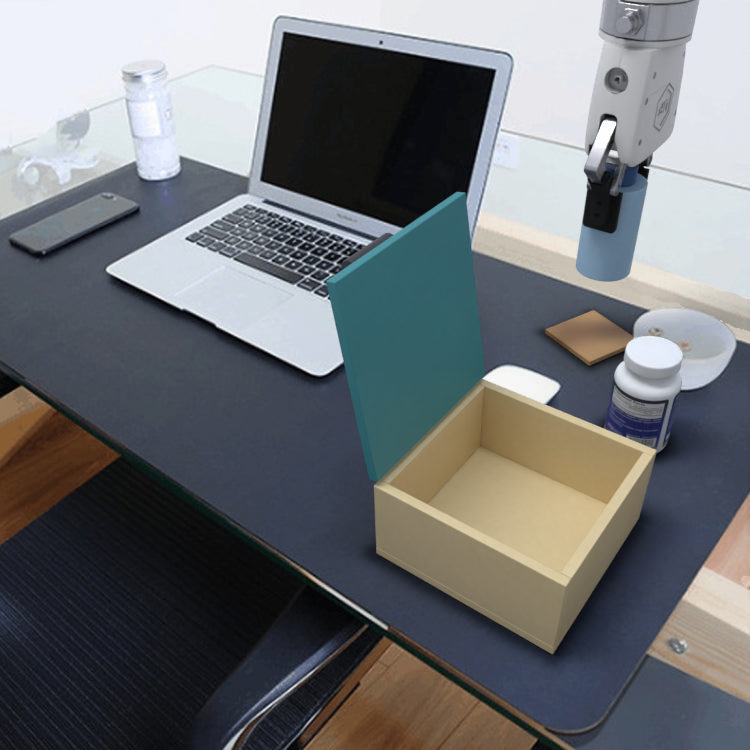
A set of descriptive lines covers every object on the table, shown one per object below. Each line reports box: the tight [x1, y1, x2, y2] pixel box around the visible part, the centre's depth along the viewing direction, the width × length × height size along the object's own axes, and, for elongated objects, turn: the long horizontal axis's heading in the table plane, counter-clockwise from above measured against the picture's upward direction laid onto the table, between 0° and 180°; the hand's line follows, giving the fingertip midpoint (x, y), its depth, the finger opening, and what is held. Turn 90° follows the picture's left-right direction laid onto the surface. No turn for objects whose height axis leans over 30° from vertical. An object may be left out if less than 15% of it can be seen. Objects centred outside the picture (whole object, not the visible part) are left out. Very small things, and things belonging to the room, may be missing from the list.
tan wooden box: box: [373, 378, 657, 655], centre depth 62 cm, size 16×16×8 cm
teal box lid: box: [325, 191, 486, 483], centre depth 60 cm, size 16×16×4 cm
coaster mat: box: [544, 309, 634, 367], centre depth 86 cm, size 7×7×1 cm
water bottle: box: [575, 163, 649, 283], centre depth 77 cm, size 5×5×11 cm
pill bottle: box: [603, 335, 684, 454], centre depth 71 cm, size 6×6×10 cm
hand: (612, 214), depth 77 cm, fingers closed on water bottle, 5 cm apart
